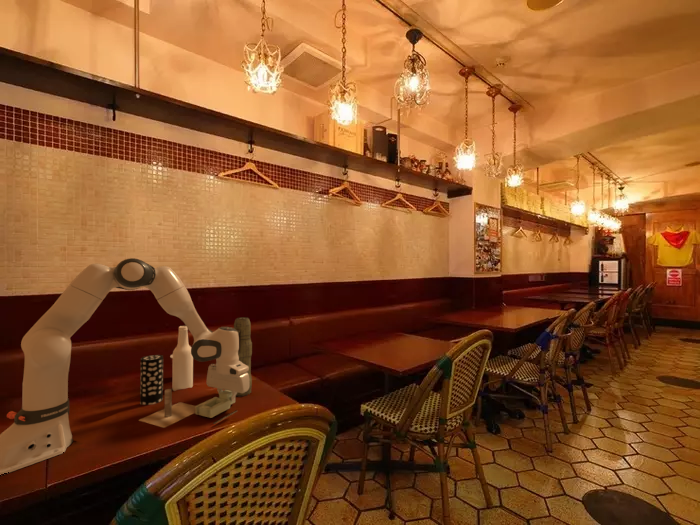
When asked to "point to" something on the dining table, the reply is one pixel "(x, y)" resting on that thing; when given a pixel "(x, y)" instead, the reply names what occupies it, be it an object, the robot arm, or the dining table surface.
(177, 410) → the post stand
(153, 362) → the white-spotted black cylinder
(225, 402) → the link
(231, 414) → the mat
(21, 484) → the dining table surface
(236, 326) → the stone moai statue
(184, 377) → the alcohol
